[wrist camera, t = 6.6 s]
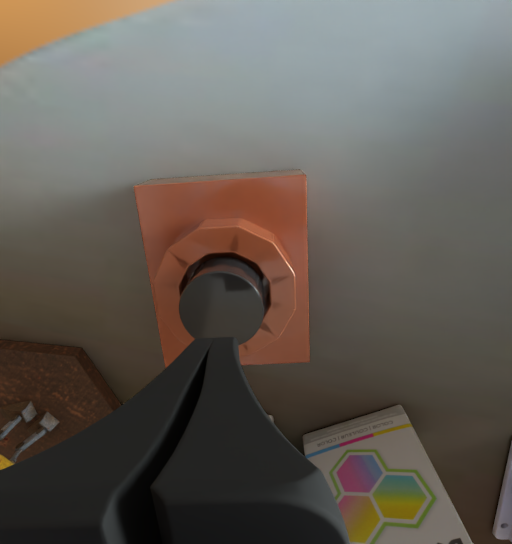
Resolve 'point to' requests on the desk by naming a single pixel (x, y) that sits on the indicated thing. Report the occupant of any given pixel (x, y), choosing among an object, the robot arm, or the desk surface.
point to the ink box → (384, 481)
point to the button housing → (231, 252)
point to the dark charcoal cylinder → (223, 300)
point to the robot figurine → (47, 397)
